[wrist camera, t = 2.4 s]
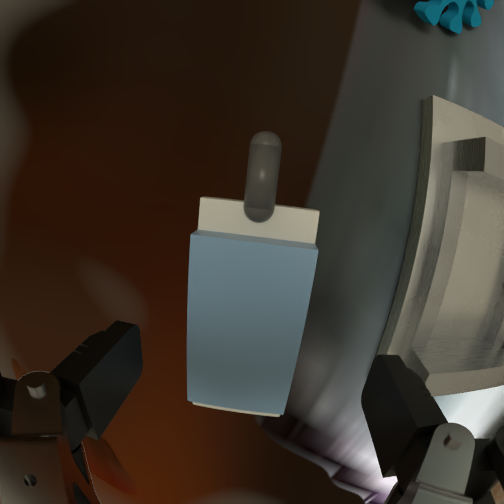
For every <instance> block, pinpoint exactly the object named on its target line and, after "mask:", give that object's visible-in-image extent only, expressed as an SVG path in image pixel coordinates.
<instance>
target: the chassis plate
mask: <svg viewBox="0 0 504 504" xmlns="http://www.w3.org/2000/svg"><path fill="white" fill-rule="evenodd" d="M378 354H385V355H399V356H400V357H401V359H402V360H403V362H404V364H405V365H406V367H407V368H410V369H411V370H413V371H414V372H415V373H416V374H418V375H419V376H420V377H421V379H422V380H423V382H424V383H425V385H426V388H428V390H429V391H430V393H431V396H442V395H450V394H457V393H464V392H470V391H476V390H482V389H487V388H492V387H497V386H501V385H504V127H502V126H500V125H498V124H496V123H495V122H493V121H491V120H489V119H487V118H485V117H483V116H481V115H479V114H477V113H474V112H472V111H470V110H468V109H466V108H464V107H461V106H459V105H457V104H454V103H452V102H450V101H447V100H445V99H442V98H440V97H437V96H434V95H432V96H430V97H428V98H426V99H424V100H422V132H421V148H420V160H419V170H418V179H417V187H416V195H415V202H414V209H413V215H412V221H411V226H410V232H409V237H408V242H407V247H406V252H405V256H404V261H403V265H402V270H401V274H400V278H399V282H398V286H397V289H396V293H395V297H394V301H393V304H392V308H391V311H390V314H389V318H388V321H387V324H386V327H385V330H384V334H383V337H382V340H381V343H380V345H379V348H378V351H377V354H376V356H377V355H378Z"/></svg>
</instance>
